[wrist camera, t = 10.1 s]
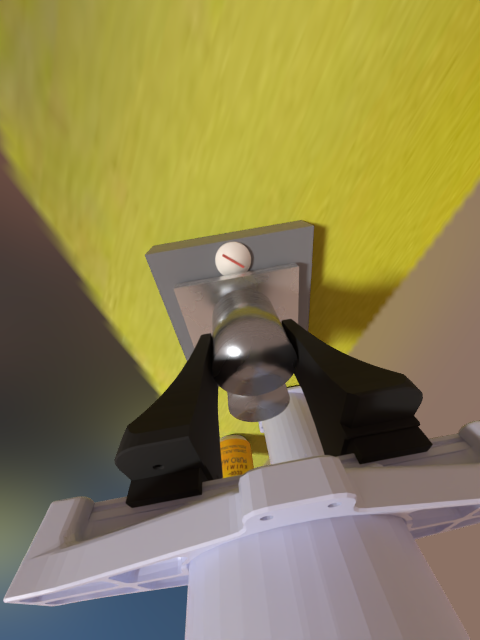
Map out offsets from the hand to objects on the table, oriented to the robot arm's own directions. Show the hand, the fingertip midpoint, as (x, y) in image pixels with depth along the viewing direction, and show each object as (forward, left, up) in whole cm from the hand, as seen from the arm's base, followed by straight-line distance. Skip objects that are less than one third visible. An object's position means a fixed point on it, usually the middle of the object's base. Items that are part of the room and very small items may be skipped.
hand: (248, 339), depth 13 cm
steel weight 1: (0, 0, -2) cm, 2 cm away
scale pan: (-3, 0, -4) cm, 5 cm away
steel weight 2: (-5, 0, -4) cm, 6 cm away
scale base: (-2, 0, -7) cm, 8 cm away
